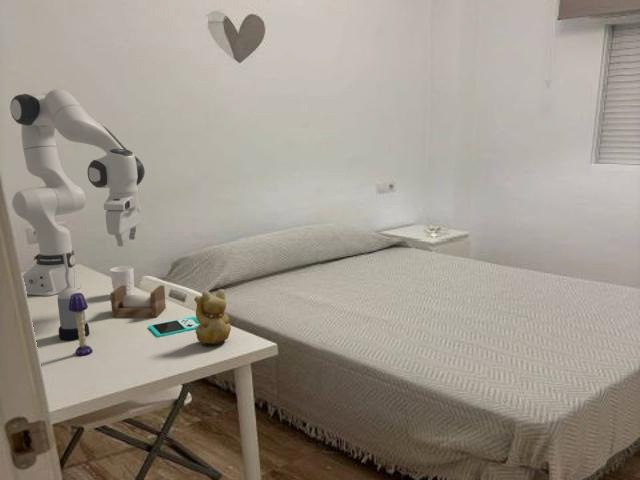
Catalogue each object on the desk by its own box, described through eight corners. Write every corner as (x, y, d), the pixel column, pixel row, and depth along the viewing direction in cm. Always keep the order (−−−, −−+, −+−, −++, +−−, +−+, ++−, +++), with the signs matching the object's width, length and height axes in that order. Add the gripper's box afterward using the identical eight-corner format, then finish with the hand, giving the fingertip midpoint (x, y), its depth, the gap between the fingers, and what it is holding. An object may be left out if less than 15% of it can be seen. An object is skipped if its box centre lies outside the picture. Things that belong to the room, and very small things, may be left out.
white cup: (120, 300, 195) (118, 272, 193) (108, 296, 200) (105, 269, 198) (140, 294, 201) (137, 268, 199) (127, 290, 206) (125, 264, 204)
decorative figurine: (226, 334, 161) (223, 285, 158) (236, 344, 154) (233, 292, 151) (193, 341, 156) (190, 290, 153) (202, 351, 149) (198, 298, 146)
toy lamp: (93, 354, 148) (87, 295, 145) (74, 358, 146) (68, 297, 142) (91, 348, 152) (85, 290, 149) (72, 352, 150) (66, 293, 147)
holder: (112, 317, 177) (110, 293, 175) (123, 308, 186) (121, 285, 184) (156, 317, 176) (154, 293, 175) (165, 308, 185) (164, 285, 183)
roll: (123, 313, 179) (120, 299, 177) (129, 305, 184) (126, 292, 182) (152, 313, 179) (149, 300, 177) (157, 305, 183) (154, 292, 181)
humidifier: (60, 333, 164) (50, 251, 159) (89, 329, 167) (81, 248, 162) (57, 342, 157) (47, 257, 152) (89, 338, 160) (80, 254, 155)
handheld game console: (210, 328, 168) (210, 324, 168) (157, 339, 160) (157, 335, 159) (198, 318, 176) (198, 314, 176) (148, 329, 168) (147, 324, 168)
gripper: (127, 195, 187) (130, 235, 190) (100, 205, 167) (104, 249, 170) (145, 196, 187) (148, 235, 190) (121, 206, 167) (124, 250, 170)
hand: (127, 242), depth 180 cm, fingers open, 8 cm apart
